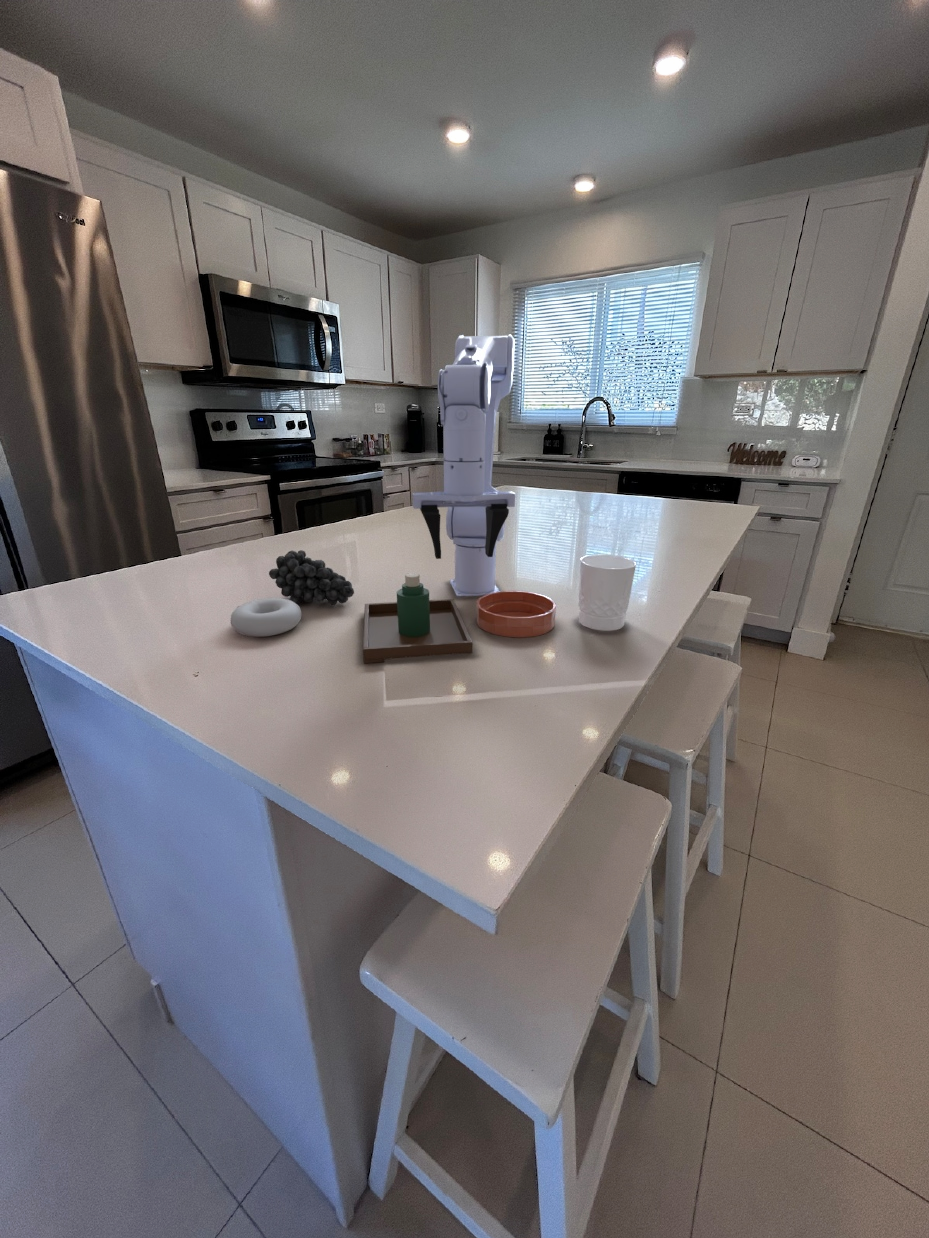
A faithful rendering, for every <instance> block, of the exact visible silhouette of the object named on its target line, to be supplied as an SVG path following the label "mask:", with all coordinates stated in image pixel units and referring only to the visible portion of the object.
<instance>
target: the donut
mask: <svg viewBox="0 0 929 1238" xmlns="http://www.w3.org/2000/svg"><path fill="white" fill-rule="evenodd" d="M301 620H302V610H301V607H300V606H299V605H298V604H296V603H294V602H293V601H291V600H290V599H287V598H283V597H282V598H280V597H267V598H259V599H254V600H250V601H248V602H245V603H243V604H241V605H238V606H237V607H236V608H235V609H234V610H233V611H232V613H231V615H230V625H231V627H232V628H233V629H234V630H235V631H236V632H237V633H239V634H241V635H243V636H247V637H255V638H259V637H260V638H261V637H263V638H265V637H271V636H276V635H280V634H283V633H286V632H288V631H290V630H292V629H294V628H296V627H297V625H298V624H299V623H300V621H301Z"/></svg>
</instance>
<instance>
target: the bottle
mask: <svg viewBox="0 0 929 1238" xmlns="http://www.w3.org/2000/svg"><path fill="white" fill-rule="evenodd" d="M420 577H421V576H420V574H419V573H417V572H409V573H406V574H404V581H405V582H404V583H402V584H401V588H399V589H398V590H397V591H396V602H397V612H398V632H399V633H400V634H401V635H403V636H407V637H419V636H424V635H426V634H428V633H429V632H430V605H429V600H430V590H429V589H427V588H425V587H424V583H422V582H420V580H421V579H420Z"/></svg>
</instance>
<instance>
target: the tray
mask: <svg viewBox="0 0 929 1238" xmlns="http://www.w3.org/2000/svg"><path fill="white" fill-rule="evenodd" d="M429 605H430V632H429V633H428V634H426V635H424V636H419V637H407V636H403V635H401V634H400V633H399V632H398V612H397V601H389V602H370V603H364V613H363V614H364V616H363V637H362V639H363V640H362V655H363V664H374V663H385V660H389V659H403V658H416V657H417V658H418V657H419V658H420V657H431V656H432V657H434V656H447V655H448V656H449V655H461V654H472V653H473V645H474V643H473V640H472V638H471V636H470V633H469V631H468V628H467V627H466V624H465V622H464V620H463V617H462V614H460V611H459V608H458V607H457V604H456V601H455V599H454V598H448V599H447V598H446V599H445V598H444V599H429Z"/></svg>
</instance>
